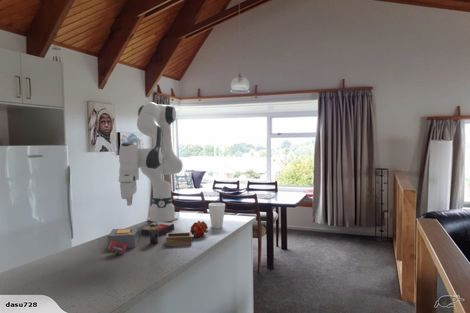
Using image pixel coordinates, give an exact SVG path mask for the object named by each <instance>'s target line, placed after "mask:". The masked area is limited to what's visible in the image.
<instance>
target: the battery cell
mask: <svg viewBox="0 0 470 313" xmlns="http://www.w3.org/2000/svg"><path fill="white" fill-rule="evenodd" d="M155 223H156V222H151V223H150V224H149V225H148V226H149V234H150V235H149V244H150V245H156V244H159V236H158V224H155Z"/></svg>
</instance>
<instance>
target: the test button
mask: <svg viewBox="0 0 470 313" xmlns="http://www.w3.org/2000/svg"><path fill="white" fill-rule="evenodd" d="M120 229H121V230H118V231H117V232H116V234H128V233H131V229H129V228H120Z"/></svg>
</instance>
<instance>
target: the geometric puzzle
mask: <svg viewBox="0 0 470 313" xmlns="http://www.w3.org/2000/svg"><path fill="white" fill-rule="evenodd" d="M121 241H122V240H121V238H120V242H121ZM120 242H117V241H116V240H112V241H111V242H110V244H109V249H108V250H109V251H112V252H114V257H115V256H117V253H120V254H125V252H126V249H127V248H126V247H127V244H126V243H125V244H124V243H120Z"/></svg>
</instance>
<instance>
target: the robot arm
mask: <svg viewBox="0 0 470 313" xmlns="http://www.w3.org/2000/svg"><path fill="white" fill-rule="evenodd" d="M137 115H138V117H137V121H136V126H137V130H138V131H139V132H140V133H141V134H142V135H145V136H147V137H150V138H152V147H151V148H150V147H148V148H139V147H138V143H137V142H135V141H125V142H122V143H121V144H120V145H119V151H118V162H119V169H118V170H119V171H118V172H119V174H118V176H119V177H118V182H119V190H120V196H121V199H123V200H126V206H132V205H133V197H134V195H135V194H136V193H137V181H139V180H140V175H139V174H140V171H141V173H142V174H143V175H144V176H146V177H147V178H148V180H149V181H150V183H151V185H152V200H151V203H152V205H150V207H149V216H148V217H147V218H146V220H147V221H149V222H152V223H156V222H166V223H168V222H173V221H176V220H178V219H179V217H178V216H177V215H176V211H175V205H174V204H173V196H172V184H171V183H170V182H169V181H167V180H165V179H163V178H162V176H164V175H166V176H167V175H176V174H180V173H181V171H182V170H183V166H184V165H183V161H182V159H181V158H180V157H178V156H177V155H176V154H175V152H174V150H173V147H172V131H171V128H172V127H171V125H172V123H174V122H175V121H176V118H177V110H176V107H175V106H173V105H171V104H159V103H158V104H157V103H155V102H152V101H151V102H150V101H149V102H146V103H145V104H144V105H141V106H140V107H138V111H137ZM139 169H140V170H139Z"/></svg>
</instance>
